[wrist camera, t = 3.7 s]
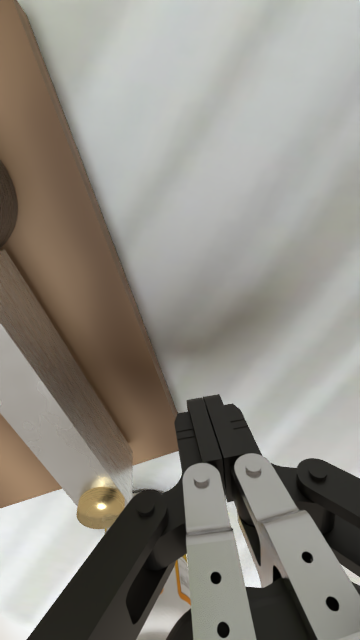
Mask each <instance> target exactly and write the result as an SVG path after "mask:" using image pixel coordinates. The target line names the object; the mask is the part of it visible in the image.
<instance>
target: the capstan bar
mask: <svg viewBox="0 0 360 640" xmlns="http://www.w3.org/2000/svg"><path fill="white" fill-rule="evenodd" d="M17 211H18V204H17V196H16V192H15V187H14V185H13V182H12V179H11V177H10V175H9V173H8V171H7V169H6V168H5V166H4V164H3V163H2V161H1V160H0V248H1V247H2V246H3V245H4V244H5V243H6V242H7V240H8V239H9V238H10V236H11V234H12V232H13V230H14V227H15V224H16V220H17ZM0 413H1V415H2V416H3V417H4V418H5V419H6V421H7V422H8V423H9V424H10V425H11V427H12V428H13V429H14V430H15V431H16V433H17V434H18V435H19V436H20V437H21V439H22V440H23V441H24V442H25V444H26V445H27V446H28V447H29V448H30V450H31V451H32V452H33V453H34V454H35V456H36V457H37V458H38V459H39V460H40V462H41V463H42V464H43V465H44V466H45V468H46V469H47V470H48V471H49V472H50V474H51V475H52V476H53V477H54V479H55V480H56V481H57V482H58V483H59V485H60V486H61V487H62V488H63V489H64V491H65V492H66V493H67V494H68V495H69V497H70V498H71V499H72V500H73V501H74V503H75V504H76V505H77V506H78V508H77V518H78V520H79V522H80V523H81V524H83V525H84V526H86V527H89V528H93V529H104V528H109V527H111V526H112V524H113V523H114V522H115V520H116V519H117V518H118V516H119V515H120V513H121V512H122V511H123V509H124V508H125V507H126V505H127V504H128V503H129V501H130V500H131V499H132V460H133V451H132V449H131V448H130V446H129V444H128V443H127V441H126V440H125V438H124V437H123V435H122V433H121V432H120V430H119V429H118V427H117V425H116V424H115V422H114V421H113V419H112V418H111V416H110V414H109V413H108V411H107V410H106V408H105V406H104V405H103V403H102V402H101V400H100V399H99V397H98V395H97V394H96V392H95V391H94V389H93V388H92V386H91V384H90V383H89V381H88V380H87V378H86V376H85V375H84V373H83V372H82V370H81V369H80V367H79V365H78V364H77V362H76V361H75V359H74V358H73V356H72V354H71V353H70V351H69V350H68V348H67V346H66V345H65V343H64V342H63V340H62V339H61V337H60V335H59V334H58V332H57V331H56V329H55V328H54V326H53V324H52V323H51V321H50V320H49V318H48V316H47V315H46V313H45V312H44V310H43V309H42V307H41V305H40V304H39V302H38V301H37V299H36V297H35V296H34V294H33V293H32V291H31V290H30V288H29V286H28V285H27V283H26V282H25V280H24V279H23V277H22V275H21V274H20V272H19V271H18V269H17V267H16V266H15V264H14V263H13V261H12V260H11V258H10V256H9V255H8V253H7V252H6V250H5V249H4V250H2V251H0Z"/></svg>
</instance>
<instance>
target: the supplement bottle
mask: <svg viewBox="0 0 360 640" xmlns="http://www.w3.org/2000/svg"><path fill="white" fill-rule="evenodd" d="M138 493H140V492H138ZM138 493H134V494H132V498H133V497H134V496H135V495H136V494H138ZM161 494H162V493H161ZM109 528H110V527H109ZM109 528H105V534H106V532H107V531H108V530H109ZM190 608H191V600H190V586H189V573H188V566H187V558H186V554H185V555H184V556H182V557H181V558H179V559H178V560H176V563H175V566H174V568H173V570H172V572H171V574H170V576H169V578H168V580H167V582H166V583H165V585H164V587H163V589H162V591H161V593H160V595H159V597H158V599H157V601H156V603H155V605H154V607H153V608H152V610H151V612H150V614H149V616H148V618H147V620H146V622H145V624H144V626H143V628H142V630H141V632H140V633H139V635H138V637H137V639H136V640H166V638H167V636H168V635H169V633H170V631H171V629H172V628H173V626H174V625H175V624H176V622H177V621H178V620H179V619H180V618H181V617H182V615H183V614H184V613H185V612H187V611H188V610H189V609H190Z"/></svg>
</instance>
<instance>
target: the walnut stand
mask: <svg viewBox="0 0 360 640" xmlns="http://www.w3.org/2000/svg"><path fill="white" fill-rule="evenodd" d="M0 160H1V161H2V163H3V164H4V166H5V168H6V169H7V171H8V173H9V175H10V177H11V179H12V182H13V185H14V187H15V192H16V196H17V204H18V211H17V220H16V224H15V227H14V230H13V232H12V234H11V236H10V238H9V239H8V240H7V242H6V243H5V244H4V245H3V246H2V247H1V248H0V251H2V250H4V249H5V250H6V252H7V253H8V255H9V256H10V258H11V260H12V261H13V263H14V264H15V266H16V267H17V269H18V271H19V272H20V274H21V275H22V277H23V279H24V280H25V282H26V283H27V285H28V286H29V288H30V290H31V291H32V293H33V294H34V296H35V297H36V299H37V301H38V302H39V304H40V305H41V307H42V309H43V310H44V312H45V313H46V315H47V316H48V318H49V320H50V321H51V323H52V324H53V326H54V328H55V329H56V331H57V332H58V334H59V335H60V337H61V339H62V340H63V342H64V343H65V345H66V346H67V348H68V350H69V351H70V353H71V354H72V356H73V358H74V359H75V361H76V362H77V364H78V365H79V367H80V369H81V370H82V372H83V373H84V375H85V376H86V378H87V380H88V381H89V383H90V384H91V386H92V388H93V389H94V391H95V392H96V394H97V395H98V397H99V399H100V400H101V402H102V403H103V405H104V406H105V408H106V410H107V411H108V413H109V414H110V416H111V418H112V419H113V421H114V422H115V424H116V425H117V427H118V429H119V430H120V432H121V433H122V435H123V437H124V438H125V440H126V441H127V443H128V444H129V446H130V448H131V449H132V451H133V460H132V466H133V465H136V464H139V463H142V462H145V461H148V460H151V459H154V458H158V457H161V456H164V455H167V454H170V453H173V452H176V451H179V450H178V444H177V437H176V431H175V424H174V422H175V419H176V416H177V414H178V413H177V411H176V408H175V405H174V403H173V400H172V397H171V395H170V392H169V390H168V387H167V384H166V382H165V379H164V376H163V374H162V371H161V368H160V366H159V363H158V361H157V358H156V355H155V353H154V350H153V347H152V345H151V342H150V339H149V337H148V334H147V332H146V329H145V326H144V324H143V321H142V318H141V316H140V313H139V311H138V308H137V305H136V303H135V300H134V297H133V295H132V292H131V289H130V287H129V284H128V282H127V279H126V276H125V274H124V271H123V268H122V266H121V263H120V260H119V258H118V255H117V253H116V250H115V247H114V245H113V242H112V239H111V237H110V234H109V231H108V229H107V226H106V224H105V221H104V218H103V216H102V213H101V210H100V208H99V205H98V202H97V200H96V197H95V195H94V192H93V189H92V187H91V184H90V181H89V179H88V176H87V173H86V171H85V168H84V166H83V163H82V160H81V158H80V155H79V152H78V150H77V147H76V144H75V142H74V139H73V137H72V134H71V131H70V129H69V126H68V123H67V121H66V118H65V115H64V113H63V110H62V108H61V105H60V102H59V100H58V97H57V94H56V92H55V89H54V86H53V84H52V81H51V79H50V76H49V73H48V71H47V68H46V65H45V63H44V60H43V57H42V55H41V52H40V50H39V47H38V44H37V42H36V39H35V36H34V34H33V31H32V28H31V26H30V23H29V21H28V18H27V15H26V14H25V12H24V11H23V9H22V8H21V6H20V5H19V3H18V2H17V0H0ZM59 489H62V487H61V486H60V485H59V483H58V482H57V481H56V480H55V479H54V477H53V476H52V475H51V474H50V472H49V471H48V470H47V469H46V468H45V466H44V465H43V464H42V463H41V462H40V460H39V459H38V458H37V457H36V456H35V454H34V453H33V452H32V451H31V450H30V448H29V447H28V446H27V445H26V444H25V442H24V441H23V440H22V439H21V437H20V436H19V435H18V434H17V433H16V431H15V430H14V429H13V428H12V427H11V425H10V424H9V423H8V422H7V421H6V419H5V418H4V417H3V416H2V415H1V413H0V508H3V507H6V506H9V505H12V504H15V503H18V502H21V501H25V500H28V499H31V498H34V497H37V496H40V495H43V494H46V493H49V492H52V491H56V490H59Z"/></svg>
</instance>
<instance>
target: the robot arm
mask: <svg viewBox="0 0 360 640" xmlns="http://www.w3.org/2000/svg"><path fill="white" fill-rule="evenodd" d="M187 408H188V412H184V413H179V414H177V416H176V419H175V422H174V424H175V431H176V437H177V444H178V450H179V456H180V462H181V468H182V476H181V478H180V480H179V482H178V483H177V484H176V486H174V487H173V488H172V489H170V490H169V491H167V492H165V493H163V494H161V493H159V492H157V491H154V490H146V491H142V492H140V493H138V494H136V495H135V496H134V497H133V498H132V499H131V500H130V501H129V503H128V504H127V505H126V507H125V508H124V509H123V511H122V512H121V513H120V515H119V516H118V518H117V519H116V520H115V522H114V523H113V524H112V526H111V527H110V528H109V530H108V531H107V532H106V534H105V535H104V536H103V538H102V539H101V540H100V542H99V543H98V544H97V546H96V547H95V548H94V550H93V551H92V552H91V554H90V555H89V557H88V558H87V559H86V561H85V562H84V563H83V565H82V566H81V567H80V569H79V570H78V571H77V573H76V574H75V575H74V577H73V578H72V579H71V581H70V582H69V583H68V585H67V586H66V587H65V589H64V590H63V592H62V593H61V594H60V596H59V597H58V598H57V600H56V601H55V602H54V604H53V605H52V606H51V608H50V609H49V610H48V612H47V613H46V614H45V616H44V617H43V618H42V620H41V621H40V622H39V624H38V625H37V626H36V628H35V629H34V631H33V632H32V633H31V635H30V636H29V637H28V639H27V640H136V639H137V637H138V635H139V633H140V632H141V630H142V628H143V626H144V624H145V622H146V620H147V618H148V616H149V614H150V612H151V610H152V608H153V607H154V605H155V603H156V601H157V599H158V597H159V595H160V593H161V591H162V589H163V587H164V585H165V583H166V582H167V580H168V578H169V576H170V574H171V572H172V570H173V568H174V566H175V563H176V560H178V559H179V558H181V557H182V556H184V555H185V554H187V560H188V573H189V586H190V600H191V608H190V609H189V610H188V611H187V612H185V613H184V614H183V615H182V617H181V618H180V619H179V620H178V621H177V622H176V624H175V625H174V626H173V628H172V629H171V631H170V633H169V635H168V636H167V638H166V640H360V586H359V585H357V584H355V583H353V582H351V581H350V579H349V578H348V576H347V574H346V573H345V571H344V569H343V568H342V566H341V565H343V566H344V567H346V568H347V569H349V570H350V571H352V572H353V573H354V574H356V575H357V576H359V577H360V478H358V477H355V476H353V475H351V474H349V473H347V472H345V471H343V470H341V469H339V468H337V467H335V466H333V465H331V464H329V463H327V462H325V461H323V460H320V459H314V458H311V459H306V460H303V461H302V462H300V463H299V465H298V467H297V468H289V467H281V466H277V465H274V464H272V463H270V461H269V460H268V459H266V458H265V457H263V456H262V454H261V452H260V450H259V448H258V446H257V444H256V442H255V440H254V438H253V435H252V433H251V431H250V429H249V428H248V425H247V423H246V421H245V418H244V416H243V414H242V412H241V410H240V409H239V408H237V407H236V406H235V405H234V404H228V405H223V402H222V400H221V397H220V395H219V394H218V395H213V396H207V397H203V398H196V399H191V400H187ZM225 495H226V499H227V502H231V501H234V502H235V506H236V509H237V518H238V523H239V525H240V528H241V530H242V533H243V535H244V538H245V540H246V543H247V546H248V548H249V551H250V553H251V556H252V558H253V561H254V563H255V566H256V569H257V571H258V574H259V578H260V581H261V586H262V588H254V587H245V583H244V578H243V574H242V569H241V564H240V559H239V555H238V550H237V545H236V540H235V536H234V532H233V529H232V528H231V524H230V520H229V515H228V510H227V505H226V499H225ZM340 564H341V565H340Z"/></svg>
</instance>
